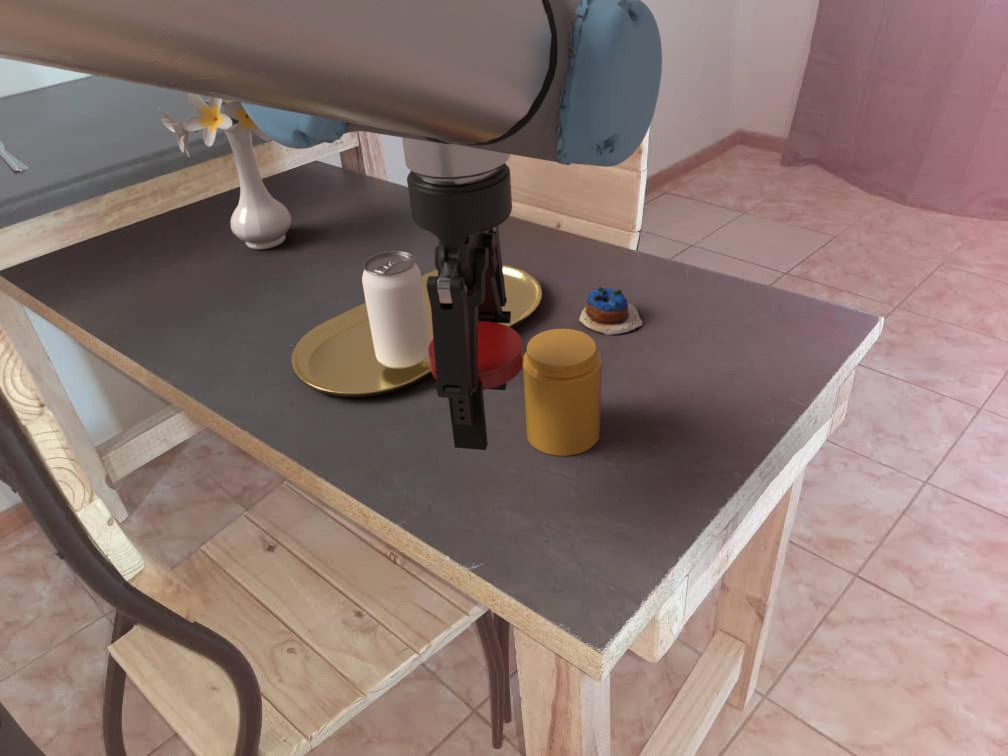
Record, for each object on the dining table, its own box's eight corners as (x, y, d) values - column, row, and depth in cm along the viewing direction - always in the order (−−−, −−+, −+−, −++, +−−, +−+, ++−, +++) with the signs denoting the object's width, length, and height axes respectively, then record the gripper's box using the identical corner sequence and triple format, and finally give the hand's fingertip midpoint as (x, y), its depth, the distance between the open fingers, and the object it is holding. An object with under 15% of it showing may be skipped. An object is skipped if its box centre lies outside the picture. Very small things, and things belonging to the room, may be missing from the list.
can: (442, 348, 91) (431, 255, 85) (408, 376, 87) (393, 281, 80) (399, 334, 94) (385, 244, 88) (364, 361, 90) (346, 268, 83)
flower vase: (190, 253, 122) (138, 88, 107) (291, 214, 132) (255, 60, 117) (231, 277, 114) (181, 103, 99) (335, 234, 124) (303, 71, 110)
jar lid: (535, 344, 68) (535, 327, 67) (507, 397, 62) (505, 379, 61) (451, 333, 70) (449, 316, 69) (415, 383, 64) (412, 365, 63)
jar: (596, 459, 76) (597, 371, 70) (520, 453, 78) (515, 366, 72) (603, 412, 82) (604, 327, 76) (532, 407, 84) (528, 323, 78)
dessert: (564, 310, 99) (589, 270, 97) (597, 323, 103) (621, 284, 101) (600, 342, 93) (627, 300, 91) (634, 354, 98) (660, 314, 96)
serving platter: (571, 301, 102) (571, 290, 101) (354, 426, 83) (352, 414, 82) (475, 260, 113) (474, 250, 113) (264, 362, 94) (261, 351, 93)
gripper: (443, 121, 65) (467, 349, 78) (360, 225, 48) (408, 491, 62) (532, 121, 63) (541, 353, 77) (476, 228, 47) (500, 500, 60)
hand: (482, 414), depth 69 cm, fingers closed on jar lid, 8 cm apart
